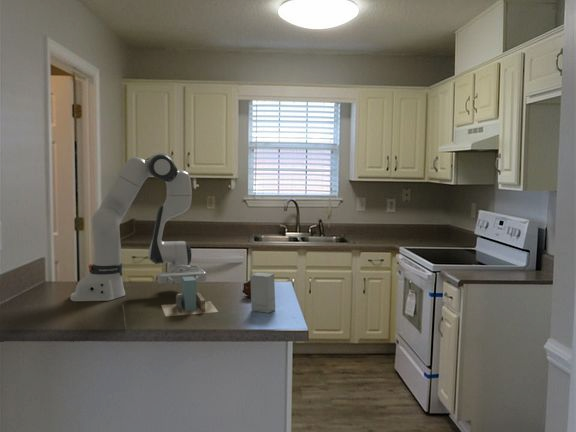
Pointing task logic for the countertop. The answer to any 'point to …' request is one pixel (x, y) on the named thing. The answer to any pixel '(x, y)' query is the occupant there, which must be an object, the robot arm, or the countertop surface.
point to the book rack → (200, 308)
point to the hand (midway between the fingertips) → (184, 281)
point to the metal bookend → (178, 303)
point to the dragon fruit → (247, 288)
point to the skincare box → (262, 292)
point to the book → (189, 293)
